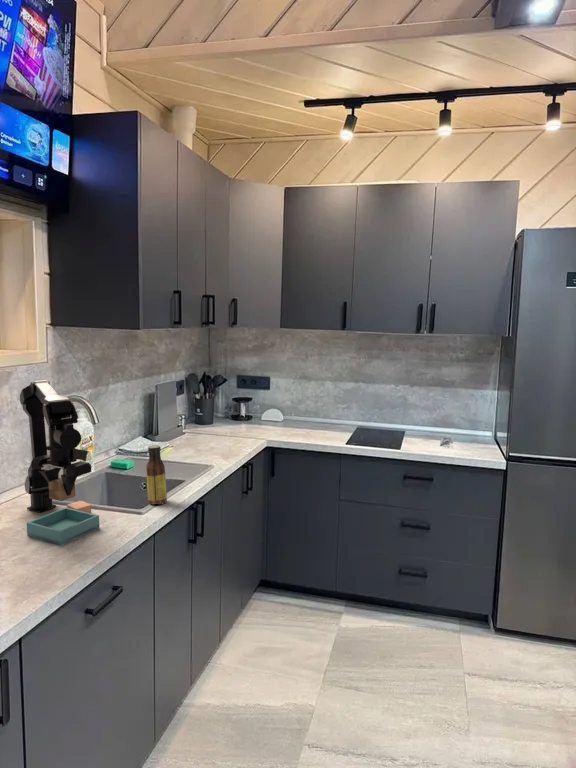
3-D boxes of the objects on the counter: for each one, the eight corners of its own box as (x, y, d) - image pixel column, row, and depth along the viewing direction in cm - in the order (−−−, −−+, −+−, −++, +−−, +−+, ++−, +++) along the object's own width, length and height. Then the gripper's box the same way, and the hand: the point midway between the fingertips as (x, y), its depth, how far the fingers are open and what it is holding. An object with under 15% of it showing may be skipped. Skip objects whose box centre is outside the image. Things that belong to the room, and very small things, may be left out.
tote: (27, 535, 156) (26, 522, 156) (66, 519, 168) (65, 507, 168) (61, 545, 150) (60, 532, 149) (99, 528, 162) (98, 515, 162)
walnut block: (49, 498, 157) (48, 481, 156) (63, 493, 161) (62, 477, 160) (61, 501, 154) (60, 484, 154) (75, 496, 159) (74, 479, 158)
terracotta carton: (67, 513, 174) (66, 504, 174) (81, 509, 178) (81, 500, 178) (76, 518, 170) (76, 509, 170) (91, 513, 174) (91, 504, 174)
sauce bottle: (168, 499, 187) (167, 443, 184) (164, 506, 181) (163, 448, 178) (149, 499, 187) (148, 443, 184) (145, 506, 181) (143, 448, 178)
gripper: (104, 439, 159) (106, 490, 161) (60, 432, 167) (62, 481, 169) (74, 448, 149) (76, 502, 151) (28, 440, 157) (31, 491, 159)
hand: (62, 493), depth 158 cm, fingers closed on walnut block, 5 cm apart
